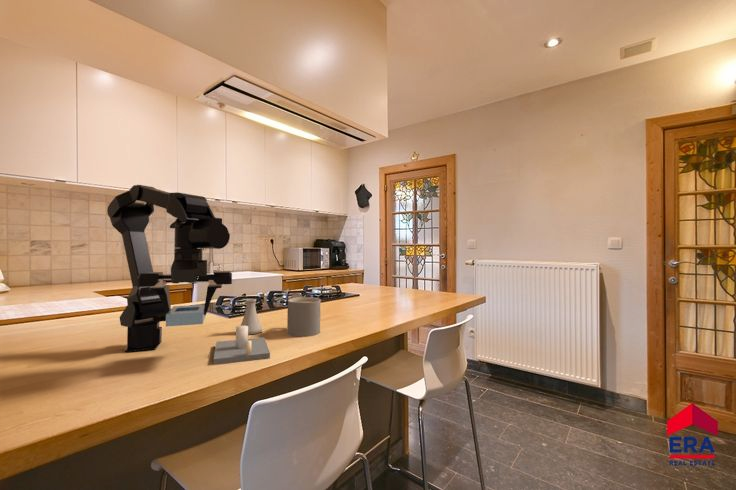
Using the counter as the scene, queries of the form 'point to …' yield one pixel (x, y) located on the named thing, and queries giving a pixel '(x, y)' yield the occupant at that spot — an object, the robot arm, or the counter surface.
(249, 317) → the flask
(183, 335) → the counter surface
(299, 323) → the coffee mug
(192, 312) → the flange plate
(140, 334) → the robot arm
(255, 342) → the post board
